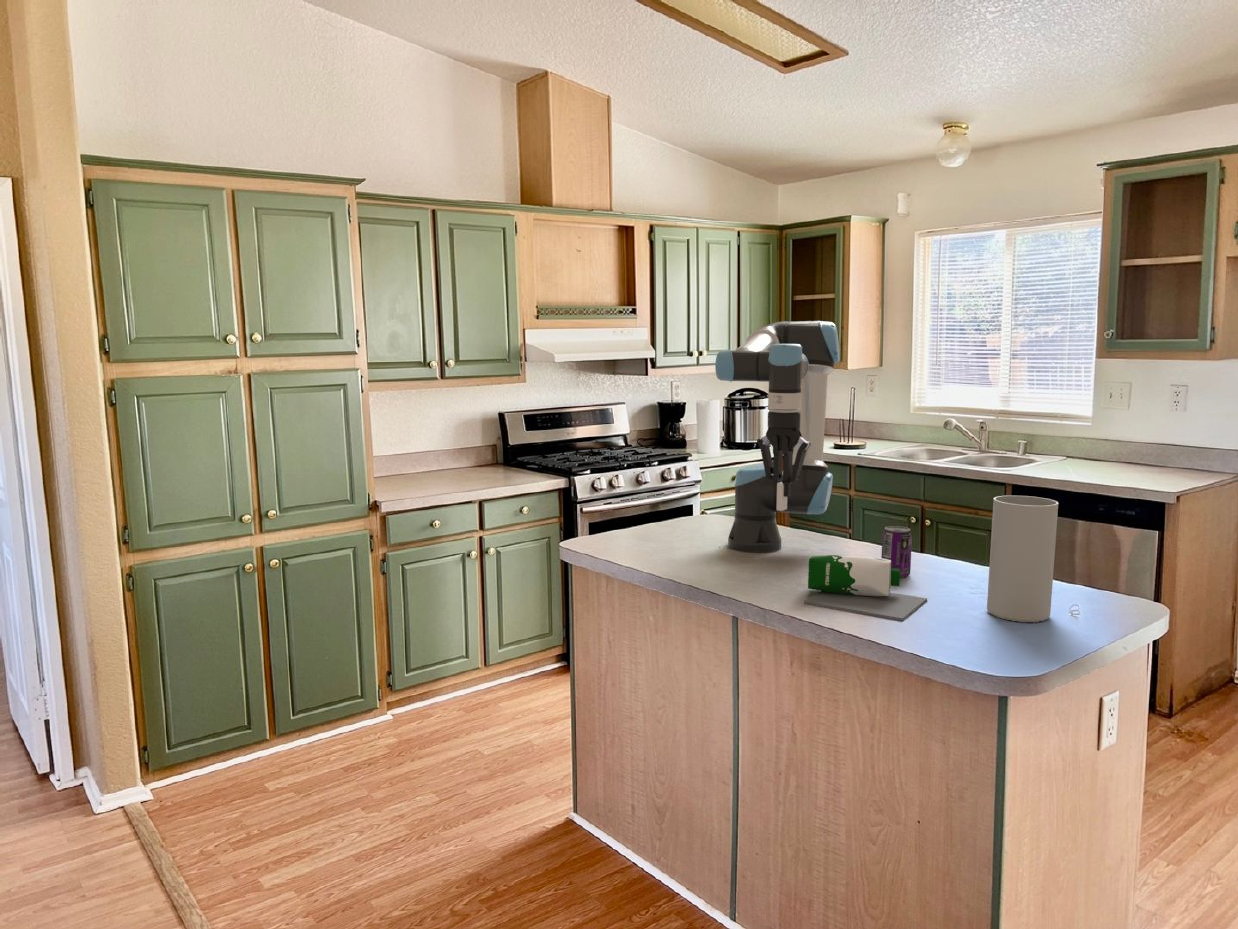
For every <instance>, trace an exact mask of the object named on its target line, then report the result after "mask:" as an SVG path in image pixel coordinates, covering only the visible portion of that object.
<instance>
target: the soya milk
mask: <svg viewBox="0 0 1238 929" xmlns="http://www.w3.org/2000/svg"><path fill="white" fill-rule="evenodd" d="M807 574H808V575H807V576H808V577H807V578H808V580H807V589H808V590H813V591H814V590H815V591H819V592H820V591H823V592H828V593H836V594H849V595H862V596H873V597H879V596H889V595H890V592H891V587H900V584H901V583H900V582H901V581H900V580H901V578H900V569H895V568H891V560H887V559H883V558H881V557H868V556H855V555H853V556H852V555H842V554H841V555H840V554H836V555H835V554H832V555H831V554H828V555H827V554H826V555H816V556H813V555H812V556H811V557H809V558H808V573H807Z"/></svg>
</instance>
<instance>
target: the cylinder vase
mask: <svg viewBox="0 0 1238 929" xmlns="http://www.w3.org/2000/svg"><path fill="white" fill-rule="evenodd" d="M992 503H993V505H992V519H991V533H990V534H991V536H990V537H991V538H990V551H989V553H990V554H989V564H988V565H989V567H988V586H987V600H986V609H987V612H988V613H990V614H991V615H993V616H994V617H995V618H998V619H1002V620H1005V619H1006V620H1007V621H1009V620H1011V621H1010V622H1015V621H1018V623H1026V622H1033V623H1040V622H1039V621H1042V622H1045V621H1046V619H1047V620H1048V619H1049V618H1050V616H1051V612H1052V611H1051V609H1052V595H1053V581H1054V567H1055V556H1056V555H1055V554H1056V553H1055V552H1056V542H1057V527H1058V526H1057V524H1058V513H1059V511H1058V510H1059V502H1058V501H1057V500H1054V499H1051V498H1046V497H1045V498H1044V497H1038V496H1029V495H1001V496H1000V495H999V496H998V495H997V496H995V497H993V502H992ZM1044 620H1045V621H1044Z"/></svg>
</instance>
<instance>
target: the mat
mask: <svg viewBox="0 0 1238 929" xmlns="http://www.w3.org/2000/svg"><path fill="white" fill-rule="evenodd" d="M926 602H928V598H926V597H922V596H921V597H920V596H917V595H916V596H915V595H910V594H902V593H896V592H891V591H890V595H889V596H879V597H873V596H862V595H849V594H836V593H828V592H823V591H819V592H817V593H815V594H814V595H812V596H811V597H809V598H807V599H805V600H804V602H803V603H804V604H806V605H811V606H815V607H822V608H827V609H834V610H838V611H844V612H850V613H855V614H860V615H861V614H862V615H865V616H866V615H867V616H872V617H878V618H882V619H889V620H892V621H893V620H895V621H900V622H904V620H906V619H907V618H908V617H910V616H911V615H912V614H913V613H914V612H916V611H917V610H918V609H919V608H920V607H922V605H924V604H925V603H926Z"/></svg>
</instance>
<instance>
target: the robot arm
mask: <svg viewBox="0 0 1238 929" xmlns="http://www.w3.org/2000/svg"><path fill="white" fill-rule="evenodd" d="M839 342H840V341H839V335H838V328H837V325H836V324H835V323H834V322H832V321H823V320H813V321H812V320H807V321H806V320H805V321H801V320H800V321H786V320H783V321H777V322H772V323H769V324H766V325H763V326H761V327H758V328H756V329H755V330H754V331H752V332H751V333H750V334H749V335H748V336H747V338H746V341H745V342H743V344H742V345H740V346H739V347H738V348H736V349H735V350H730V349H728V350H720V351H718V353H717V354H716V357H715V363H714V365H715V367H714V368H715V375H716V378H717V379H718V380H719V381H725V382H726V381H727V382H729V383H730V382H758V383H759V382H765V383H768V393H767V394H768V398H767V408H768V409H769V411H768V412H767V431H766V433H765V435H763V437H761V438H757V440H756V444H757V445H758V446H759V449H760V453H761V458H762V462H763V464H758V465H752V466H746V467H742V468H740V469H738V470H737V471H736V472H735V473H736V474H735V482H734V483H735V484H734V520H733V523H732V525H731V529H730V530H729V535H728V538H727V546H728V548H731V549H733V550H736V551H740V552H749V553H771V552H776V551H779V550H780V548H782V537H781V534H780V530H779V528H778V523H777V513H785V514H786V513H787V514H800V515H802V514H803V515H808V516H809V515H822V514H825V512H826V511H827V509H828V506H829V503H830V499H831V494H832V488H833V480H834V475H833V474H832V473H831V472H829V466H828V465H827V464H826V463H825V462H824V460H823V459H824V442H825V425H826V409H827V408H826V407H827V392H828V391H827V388H828V376H829V375H830V374H831V373H832V372H833V371H834V366H835V365H836V364H839V363H840V361H841V360H840V357H841V356H840V355H841V354H840V352H841V351H840V343H839ZM770 445H771V447H772V453H771V449H770ZM772 454H773V457H772Z"/></svg>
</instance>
